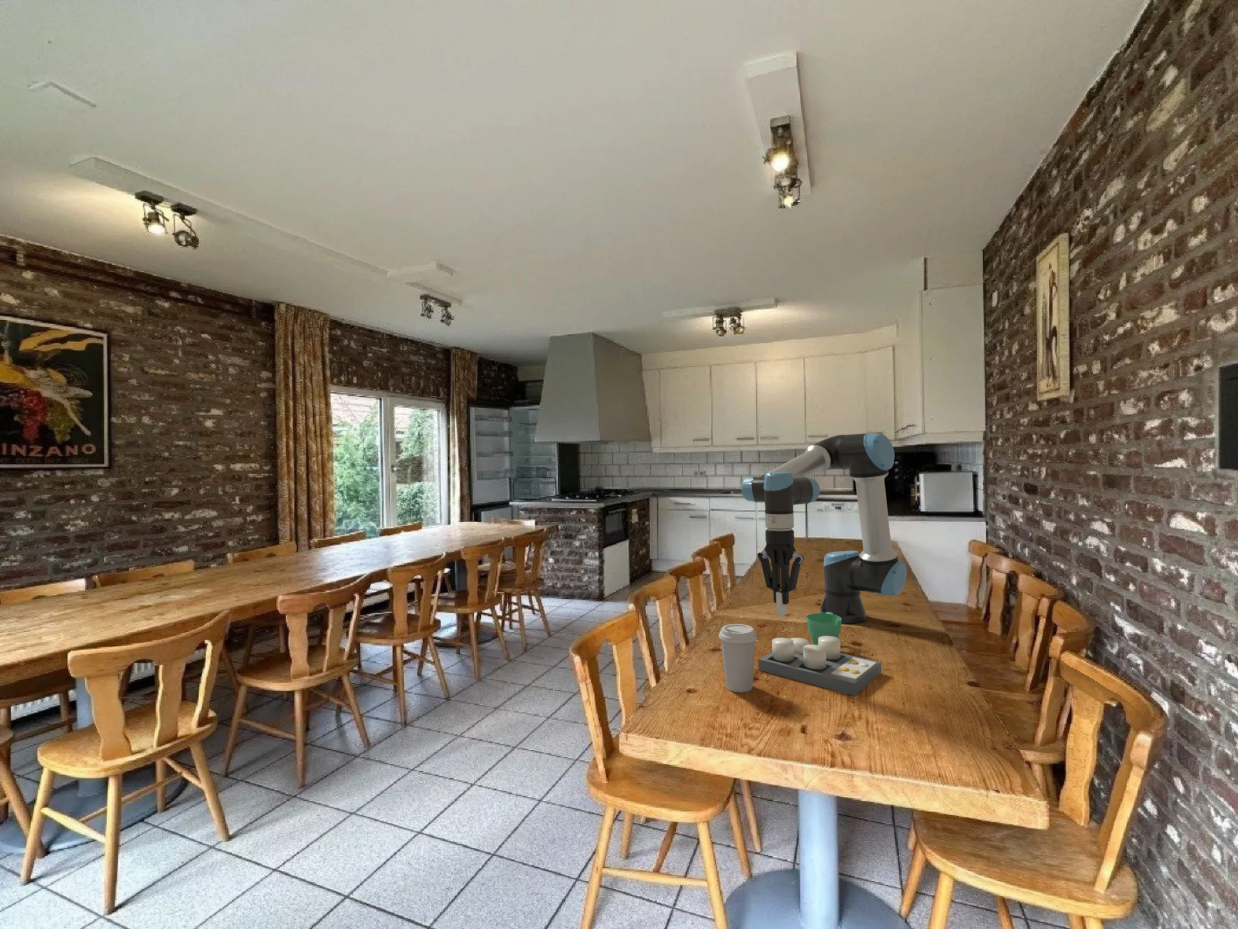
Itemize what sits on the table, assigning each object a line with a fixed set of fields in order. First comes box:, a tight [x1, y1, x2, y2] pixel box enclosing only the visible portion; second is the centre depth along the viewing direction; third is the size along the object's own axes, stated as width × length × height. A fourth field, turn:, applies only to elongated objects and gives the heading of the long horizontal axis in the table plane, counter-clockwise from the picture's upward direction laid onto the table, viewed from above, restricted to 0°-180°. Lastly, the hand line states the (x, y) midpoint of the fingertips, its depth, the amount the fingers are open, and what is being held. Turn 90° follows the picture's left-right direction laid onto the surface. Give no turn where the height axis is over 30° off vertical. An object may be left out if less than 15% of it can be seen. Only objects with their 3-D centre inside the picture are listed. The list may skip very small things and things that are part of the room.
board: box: [758, 651, 882, 697], centre depth 153 cm, size 18×26×4 cm
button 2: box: [790, 637, 810, 655], centre depth 162 cm, size 6×6×4 cm
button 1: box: [771, 637, 794, 661], centre depth 156 cm, size 6×6×4 cm
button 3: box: [803, 644, 826, 669], centre depth 149 cm, size 6×6×4 cm
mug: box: [805, 612, 842, 645], centre depth 171 cm, size 15×10×10 cm
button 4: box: [818, 636, 841, 659], centre depth 156 cm, size 6×6×4 cm
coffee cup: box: [718, 623, 758, 694], centre depth 145 cm, size 10×10×15 cm
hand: (781, 615), depth 155 cm, fingers closed
